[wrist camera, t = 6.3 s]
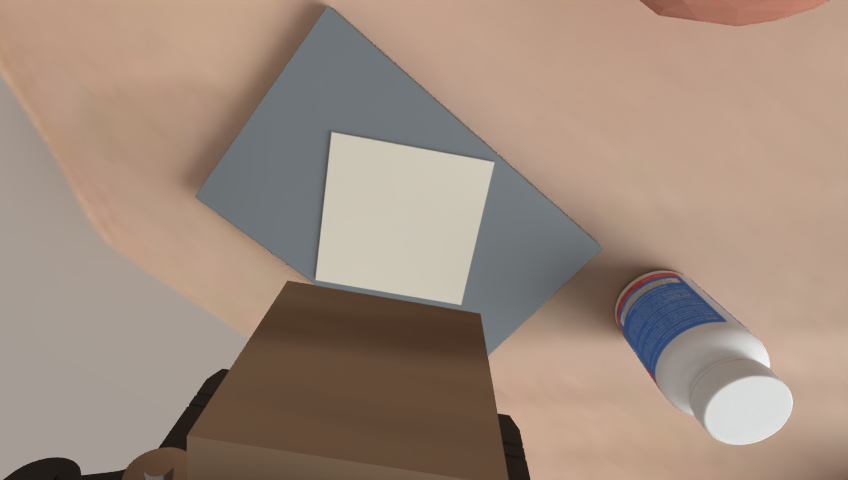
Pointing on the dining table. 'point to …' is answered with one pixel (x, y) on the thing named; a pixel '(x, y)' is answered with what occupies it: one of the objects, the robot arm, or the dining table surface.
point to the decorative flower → (731, 10)
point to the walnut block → (353, 395)
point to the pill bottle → (703, 358)
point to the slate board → (390, 190)
